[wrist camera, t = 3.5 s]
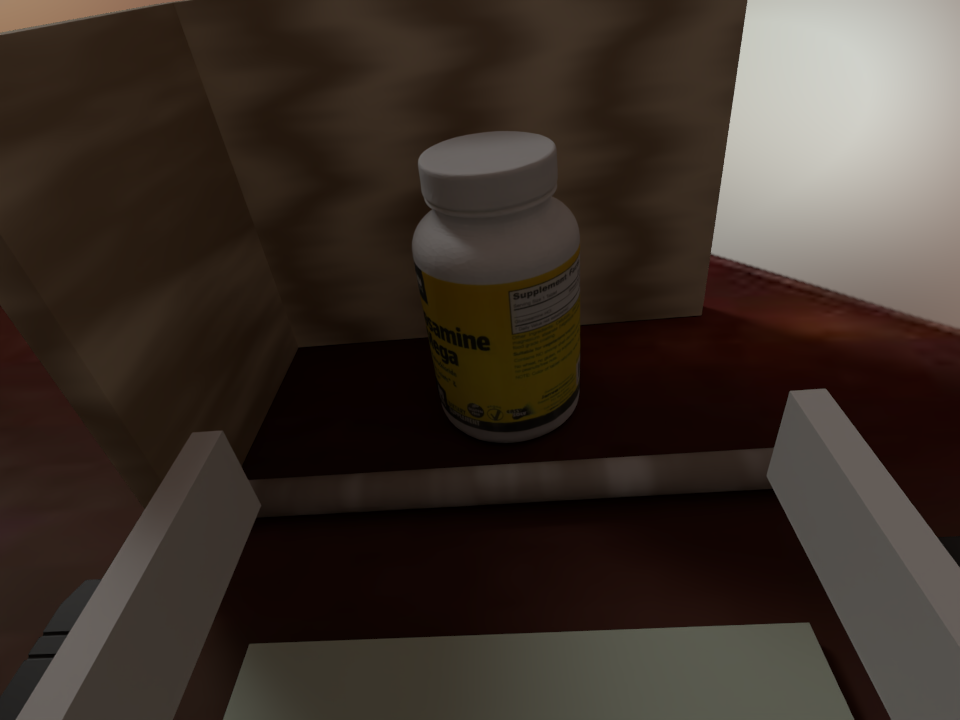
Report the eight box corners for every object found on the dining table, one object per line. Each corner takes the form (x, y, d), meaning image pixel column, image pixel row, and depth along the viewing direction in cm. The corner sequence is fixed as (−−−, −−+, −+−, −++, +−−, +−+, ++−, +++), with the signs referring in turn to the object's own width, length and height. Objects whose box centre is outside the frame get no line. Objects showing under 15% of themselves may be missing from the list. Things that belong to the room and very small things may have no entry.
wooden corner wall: (172, 547, 21) (-170, 63, 11) (283, 336, 32) (158, 3, 22) (813, 514, 19) (1039, -92, 10) (694, 303, 30) (745, -74, 21)
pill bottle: (418, 394, 26) (364, 154, 20) (525, 344, 29) (508, 114, 22) (491, 473, 22) (452, 198, 16) (610, 406, 24) (620, 143, 18)
